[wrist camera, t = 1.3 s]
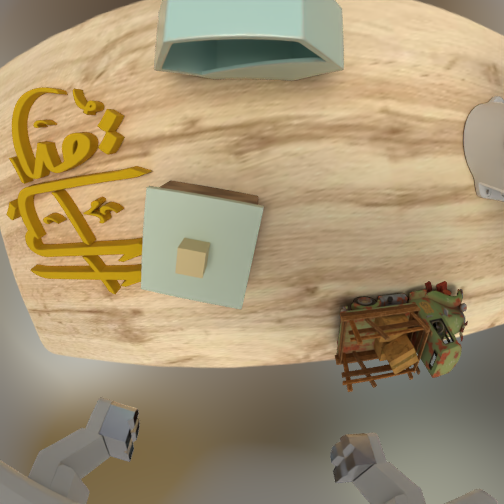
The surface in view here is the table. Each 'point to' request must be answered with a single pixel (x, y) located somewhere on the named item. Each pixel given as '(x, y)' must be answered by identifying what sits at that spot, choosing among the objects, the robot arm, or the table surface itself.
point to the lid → (198, 246)
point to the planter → (250, 38)
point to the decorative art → (74, 154)
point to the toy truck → (401, 333)
